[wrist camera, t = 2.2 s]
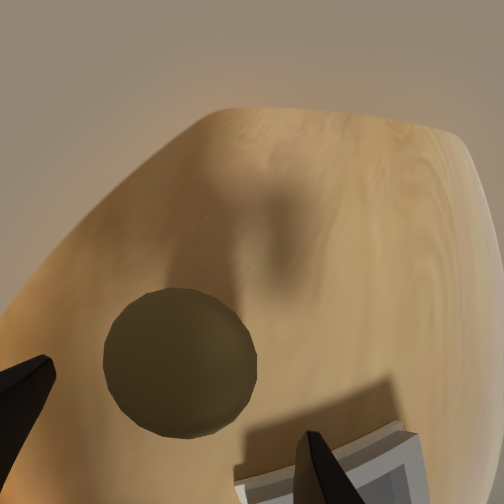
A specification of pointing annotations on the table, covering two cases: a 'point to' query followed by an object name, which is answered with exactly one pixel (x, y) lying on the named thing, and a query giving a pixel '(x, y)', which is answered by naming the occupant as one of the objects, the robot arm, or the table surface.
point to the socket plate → (358, 471)
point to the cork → (180, 363)
